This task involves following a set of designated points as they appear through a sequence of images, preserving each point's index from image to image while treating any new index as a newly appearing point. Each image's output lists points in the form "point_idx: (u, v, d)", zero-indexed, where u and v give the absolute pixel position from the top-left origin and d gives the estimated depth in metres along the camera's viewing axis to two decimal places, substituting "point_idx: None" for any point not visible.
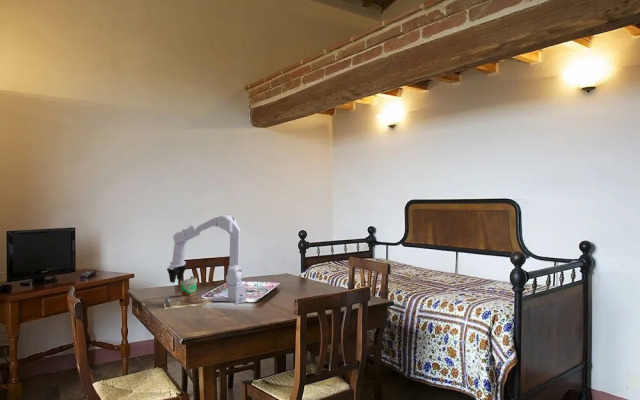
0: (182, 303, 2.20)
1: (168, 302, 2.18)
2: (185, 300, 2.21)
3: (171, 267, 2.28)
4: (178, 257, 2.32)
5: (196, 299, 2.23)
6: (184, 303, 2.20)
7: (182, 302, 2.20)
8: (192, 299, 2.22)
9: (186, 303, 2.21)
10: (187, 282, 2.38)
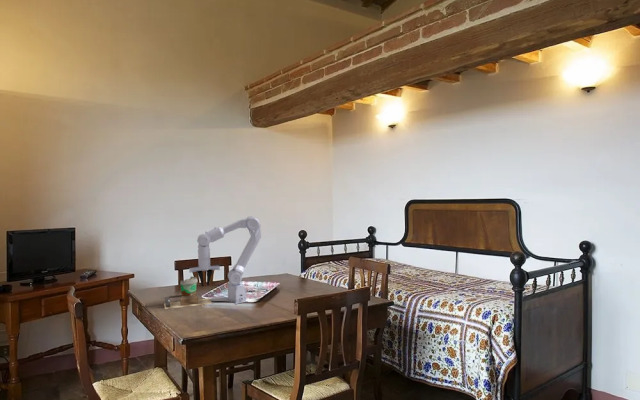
0: (182, 303, 2.20)
1: (168, 302, 2.18)
2: (185, 300, 2.21)
3: (189, 270, 2.24)
4: (199, 260, 2.25)
5: (196, 299, 2.23)
6: (184, 303, 2.20)
7: (182, 302, 2.20)
8: (192, 299, 2.22)
9: (186, 303, 2.21)
10: (187, 282, 2.38)
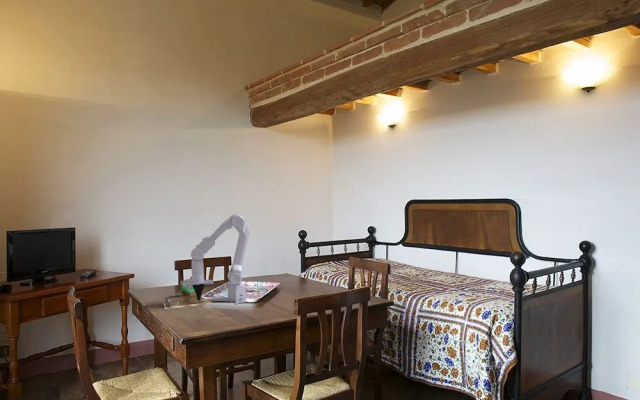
0: (181, 303, 2.20)
1: (168, 302, 2.18)
2: (184, 300, 2.20)
3: (183, 284, 2.23)
4: (192, 274, 2.24)
5: (195, 299, 2.22)
6: (183, 303, 2.20)
7: (181, 302, 2.20)
8: (191, 299, 2.22)
9: (185, 303, 2.21)
10: None
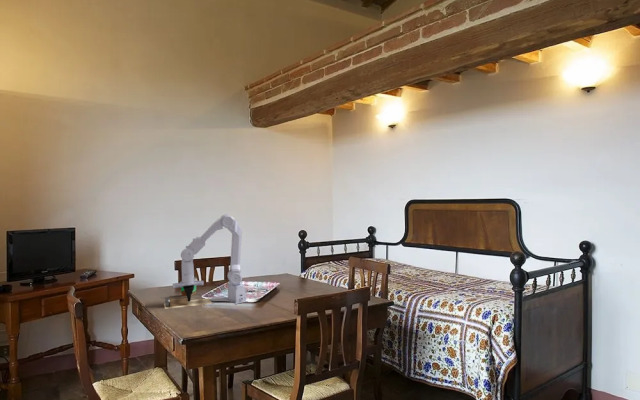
0: (171, 304, 2.18)
1: (168, 302, 2.18)
2: (174, 301, 2.19)
3: None
4: (182, 275, 2.22)
5: (185, 300, 2.21)
6: (173, 304, 2.19)
7: (171, 303, 2.18)
8: (181, 300, 2.20)
9: (175, 304, 2.19)
10: None
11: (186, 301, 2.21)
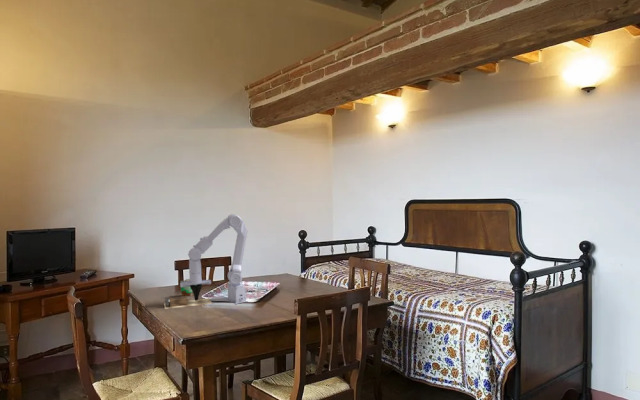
0: (171, 304, 2.18)
1: (168, 302, 2.18)
2: (174, 301, 2.19)
3: (180, 284, 2.22)
4: (190, 275, 2.23)
5: (185, 300, 2.21)
6: (173, 304, 2.19)
7: (171, 303, 2.18)
8: (181, 300, 2.20)
9: (175, 304, 2.19)
10: None
11: (186, 301, 2.21)
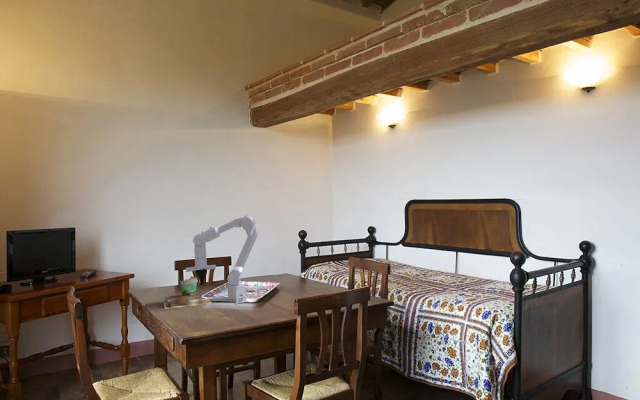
0: (171, 304, 2.18)
1: (168, 302, 2.18)
2: (174, 301, 2.19)
3: (186, 269, 2.26)
4: (195, 260, 2.27)
5: (185, 300, 2.21)
6: (173, 304, 2.19)
7: (171, 303, 2.18)
8: (181, 300, 2.20)
9: (175, 304, 2.19)
10: (187, 282, 2.38)
11: (186, 301, 2.21)
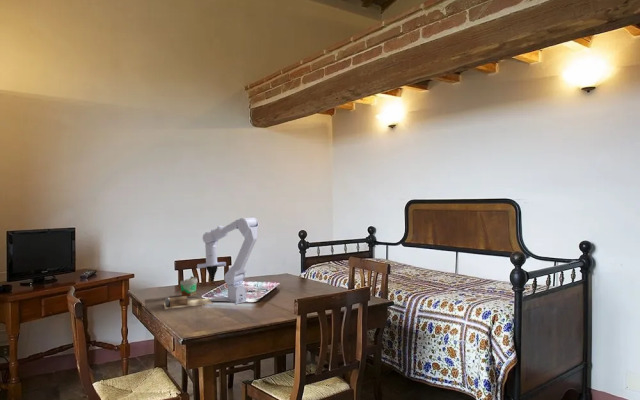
0: (171, 304, 2.18)
1: (168, 302, 2.18)
2: (174, 301, 2.19)
3: (197, 266, 2.35)
4: (206, 257, 2.36)
5: (185, 300, 2.21)
6: (173, 304, 2.19)
7: (171, 303, 2.18)
8: (181, 300, 2.20)
9: (175, 304, 2.19)
10: (187, 282, 2.38)
11: (186, 301, 2.21)
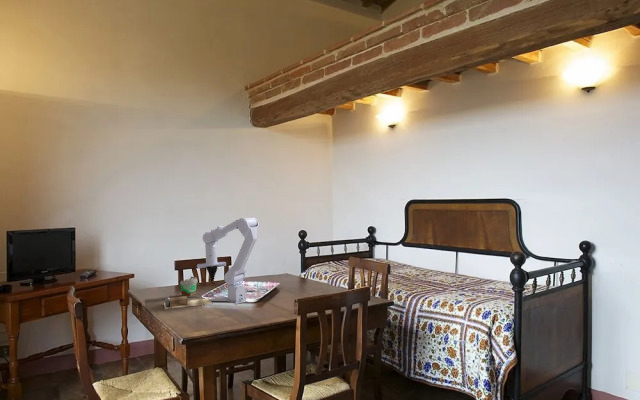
0: (171, 304, 2.18)
1: (168, 302, 2.18)
2: (174, 301, 2.19)
3: (197, 266, 2.35)
4: (206, 257, 2.36)
5: (185, 300, 2.21)
6: (173, 304, 2.19)
7: (171, 303, 2.18)
8: (181, 300, 2.20)
9: (175, 304, 2.19)
10: (187, 282, 2.38)
11: (186, 301, 2.21)
